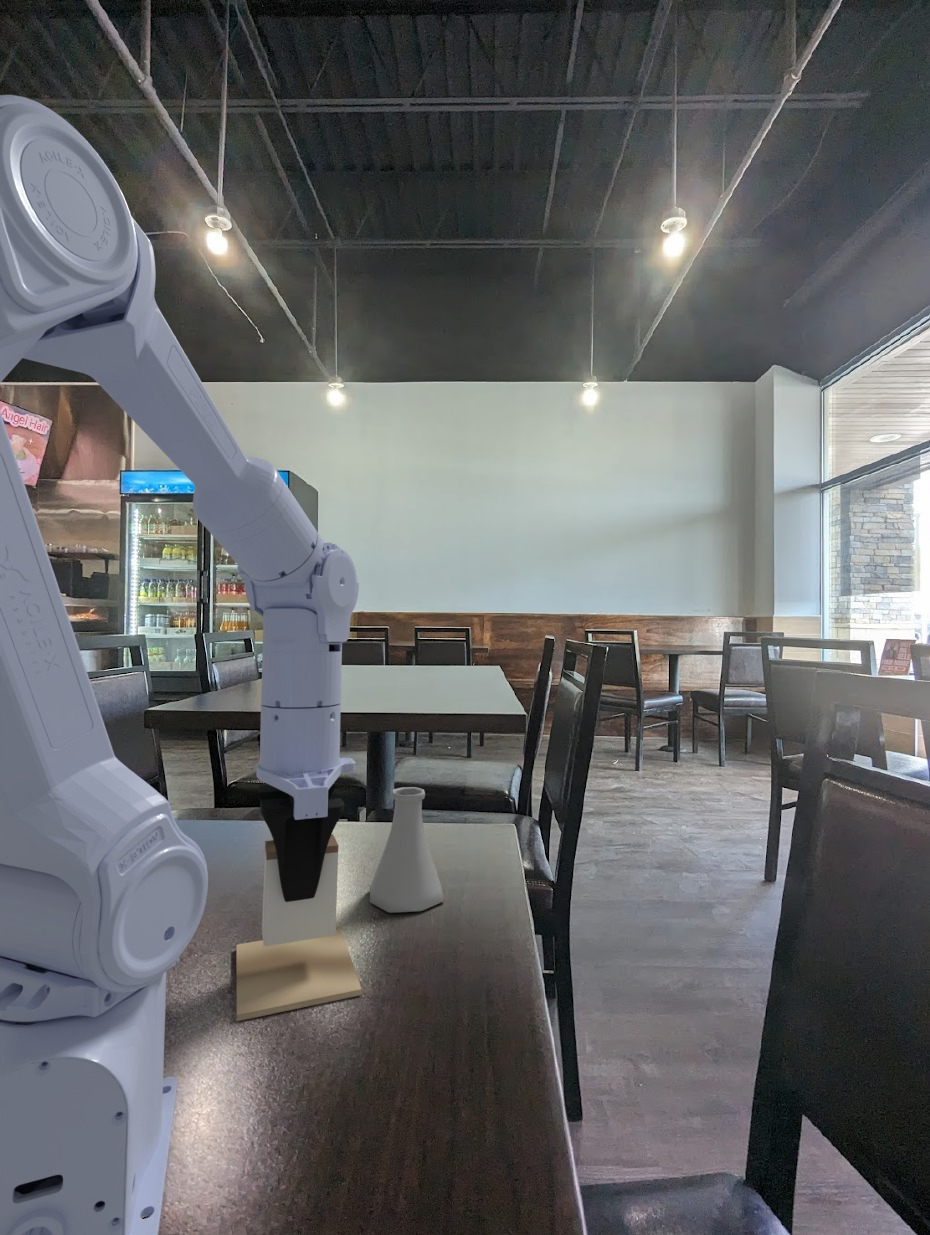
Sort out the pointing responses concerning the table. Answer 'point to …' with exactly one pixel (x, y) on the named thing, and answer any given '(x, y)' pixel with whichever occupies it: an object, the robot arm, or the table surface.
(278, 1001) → the cork mat
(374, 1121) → the table surface
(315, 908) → the cream slab
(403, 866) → the flask
